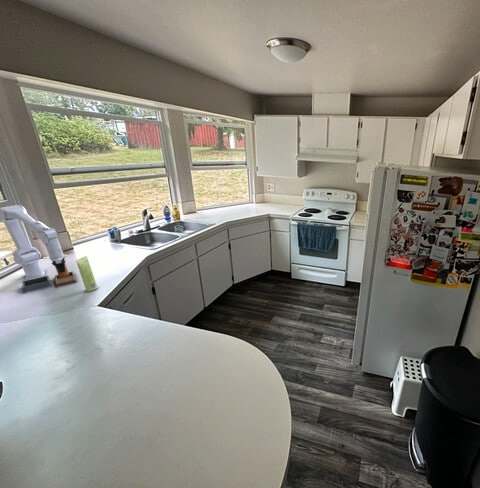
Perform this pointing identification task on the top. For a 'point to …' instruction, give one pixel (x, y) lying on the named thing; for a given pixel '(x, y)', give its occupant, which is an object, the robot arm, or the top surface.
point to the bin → (36, 283)
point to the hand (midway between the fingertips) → (62, 270)
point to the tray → (65, 279)
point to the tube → (86, 274)
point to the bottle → (63, 272)
